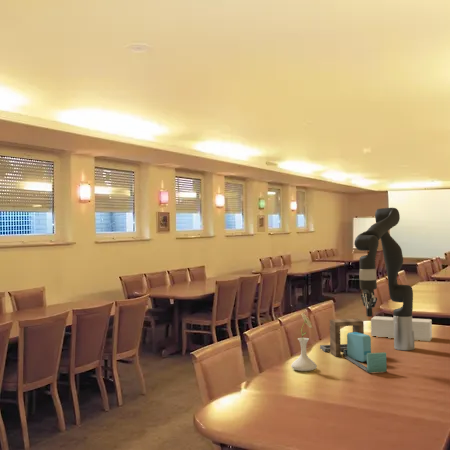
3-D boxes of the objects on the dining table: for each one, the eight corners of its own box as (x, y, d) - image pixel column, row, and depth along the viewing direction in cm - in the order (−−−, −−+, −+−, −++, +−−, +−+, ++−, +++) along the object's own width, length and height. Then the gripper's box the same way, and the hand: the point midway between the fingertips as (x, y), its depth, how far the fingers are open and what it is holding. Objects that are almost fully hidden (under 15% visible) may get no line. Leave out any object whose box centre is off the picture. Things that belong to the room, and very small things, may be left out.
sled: (359, 355, 250) (359, 339, 250) (386, 371, 220) (386, 353, 220) (343, 356, 248) (343, 340, 249) (368, 372, 219) (368, 354, 219)
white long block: (371, 337, 297) (370, 318, 297) (374, 334, 306) (374, 316, 306) (430, 341, 282) (429, 322, 282) (432, 338, 291) (431, 319, 292)
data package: (371, 361, 237) (371, 335, 238) (363, 362, 236) (363, 336, 236) (354, 356, 248) (354, 331, 249) (347, 357, 246) (346, 332, 247)
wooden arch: (357, 351, 260) (357, 318, 260) (364, 355, 252) (363, 321, 252) (330, 353, 258) (329, 319, 258) (335, 357, 250) (335, 322, 250)
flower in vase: (316, 373, 220) (315, 315, 221) (290, 372, 223) (289, 315, 223) (317, 366, 233) (316, 311, 234) (292, 365, 236) (291, 311, 236)
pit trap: (352, 347, 271) (352, 343, 271) (358, 350, 263) (358, 346, 263) (320, 348, 268) (320, 345, 268) (325, 352, 260) (325, 348, 260)
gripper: (382, 279, 228) (383, 318, 228) (369, 276, 241) (370, 313, 241) (366, 280, 226) (367, 319, 227) (354, 277, 240) (355, 314, 240)
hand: (369, 316), depth 234 cm, fingers closed
